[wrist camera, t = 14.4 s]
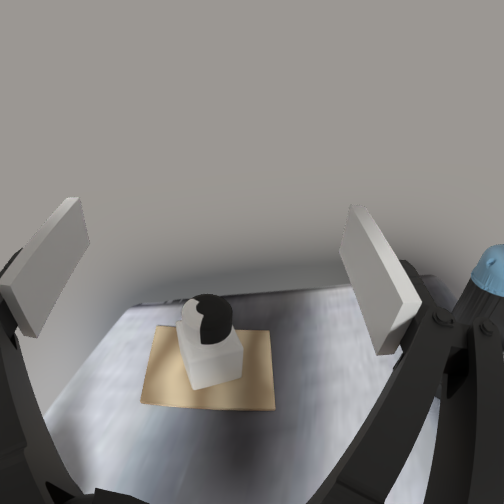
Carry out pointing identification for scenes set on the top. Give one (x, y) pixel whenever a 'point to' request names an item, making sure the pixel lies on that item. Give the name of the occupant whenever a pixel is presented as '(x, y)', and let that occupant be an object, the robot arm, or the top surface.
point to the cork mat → (214, 397)
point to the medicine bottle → (209, 342)
